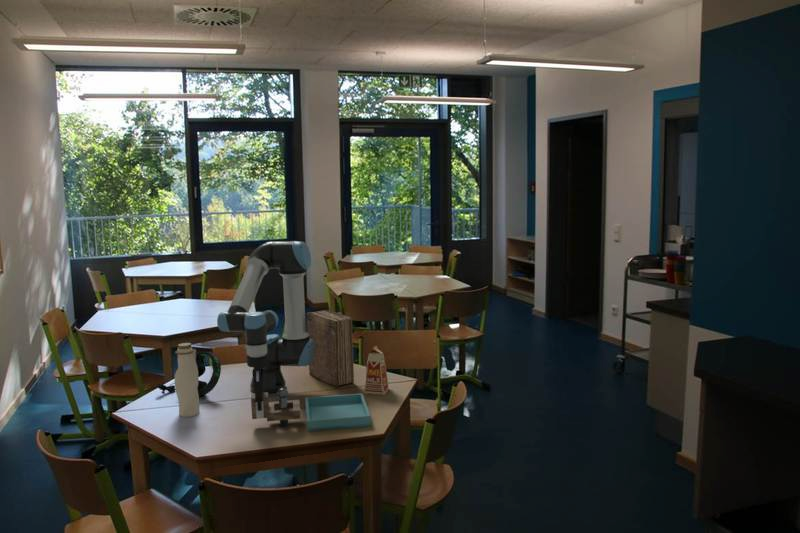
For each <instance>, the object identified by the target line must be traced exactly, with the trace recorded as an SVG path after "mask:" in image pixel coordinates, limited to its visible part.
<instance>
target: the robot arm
mask: <svg viewBox="0 0 800 533" xmlns="http://www.w3.org/2000/svg"><path fill="white" fill-rule="evenodd" d="M311 265H312V256H311V251H310V248H309V246H308V245H307V243H306V242H304V241H297V240H290V241H289V240H288V241H287V240H281V241H280V240H279V241H275V240H272V241H267V242H265V243H262V244H260V245H259V246H258V247H256V248H255V250H253V252H252V253H251V254H250V256H249V257H248V259H247V260H246V263H245V267H246V269H245V271H244V273H243V276H242V278H241V281H240V283H239V284H238V287H237V289H236V292H235V294H234V297H233V299H232V301H231V303H230V306H229V308H228V310H227V311H222V312H220V313H219V314H218V316H217V321H216V322H217V323H216V324H217V327H218V329H219V331H221V332H228V333H231V332H232V333H237V332H238V333H239V332H240V333H242V332H243V333H244V334H245V346H244V350H246V355H247V356H246V365H247V367H249V368H253V369H252V372H251V373H252V377H251V381H250V384H249V386H250V392H253V393H254V394H255V401H254V402H256V418H257V420H259V419H265V418H264V407H263V397H262V393H268V394H273V393H277V392H278V390H279V389H281V388H285V389H286V379H285V377H284V375H283V372H282V370H281V368H282V367H299V368H301V367H309V364H310V363H311V361H312V359H313V355H314V350H315V343H314V340H312V339H310V335H309V333H307V324H306V308H305V306H306V304H305V286H304V285H305V284H304V283H305V282H304V276H305V275H306V274H307V270H308V269H310V268H311ZM273 269H274V270H275V269H276V270H278V274H279V275H280V276H281V277H282V286H283V306H284V324H285V325H284V326H285V327H284V328H285V332H284V333H283V334H282V338H281V337H280V335H279V334H275V333H273V334H269V333H270V332H271V331H274V329H275V328H276V327H277V326H278V324H279V316H278V315H277V313H276V312H275V311H273V310H271V309H270V310H263V311H251V312H250V310H251V307H252V305H253V303H254V300H255V297H256V296H257V293H258V290H259V288H260V286H261V284H262V281H263V279H264V276H265V275H267V274H268V273H269V272H270V271H269V270H273Z"/></svg>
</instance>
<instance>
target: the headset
mask: <svg viewBox="0 0 800 533" xmlns="http://www.w3.org/2000/svg"><path fill="white" fill-rule="evenodd" d="M207 357H208V358H210V360H211V366H212V367H211V368H212V372H211V373H212V374H211V376H210V379H209V380H208V383H207V382H206V381H203V380H199V379H198V388H197V390H198V396H199V397H200V396H205V395H207V394H209V393H210V392H211V391H213V390H214V389H215V388H216V385H217V384H218V383H219V380H220V376H221V374H222V373H221V372H222V368H221V366H222V365H221V361H220V358H219V357H218V356H217V355H216V354H215V353H212V352H208V351H201V352H198V353H196V364H197V368H198V378H200V377H202V376H203V375H204V374H205V373H206V365H205V363H204V362H205V360H204V358H207ZM156 387H157V388H158V390H161V394H163V395H167V394H166V393H165V391H167V392H169V393H171V392H176V389H175V382H173V383H171V384H169V386H167V385H165V384H162V383H158V384H157V385H156Z"/></svg>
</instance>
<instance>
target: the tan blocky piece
mask: <svg viewBox="0 0 800 533" xmlns="http://www.w3.org/2000/svg"><path fill="white" fill-rule="evenodd" d="M262 397H263V407H264V418H263V419H266V422H277V421H280V420H288V421H289V420H297V419H298V420H299V419H300V420H301V419H302V416H301V402H300V399H290V400H288V399H287V409H286V410H279V400H278V401H277V400H276V401H269V393H262ZM254 401H255V393H251V395H250V403H251V407H250V408H251V419H252V420H256V419H257V418H256V402H254ZM257 420H258V419H257Z"/></svg>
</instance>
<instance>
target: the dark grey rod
mask: <svg viewBox="0 0 800 533" xmlns="http://www.w3.org/2000/svg"><path fill="white" fill-rule="evenodd" d="M276 394H277V397H278V401H279V410H286V409H287V401H288V396H289V392H288V390H287V389H286V387H285V388H281V389H279V390H278V392H276ZM288 425H289V420H279V426H280V427H286V426H288Z"/></svg>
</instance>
